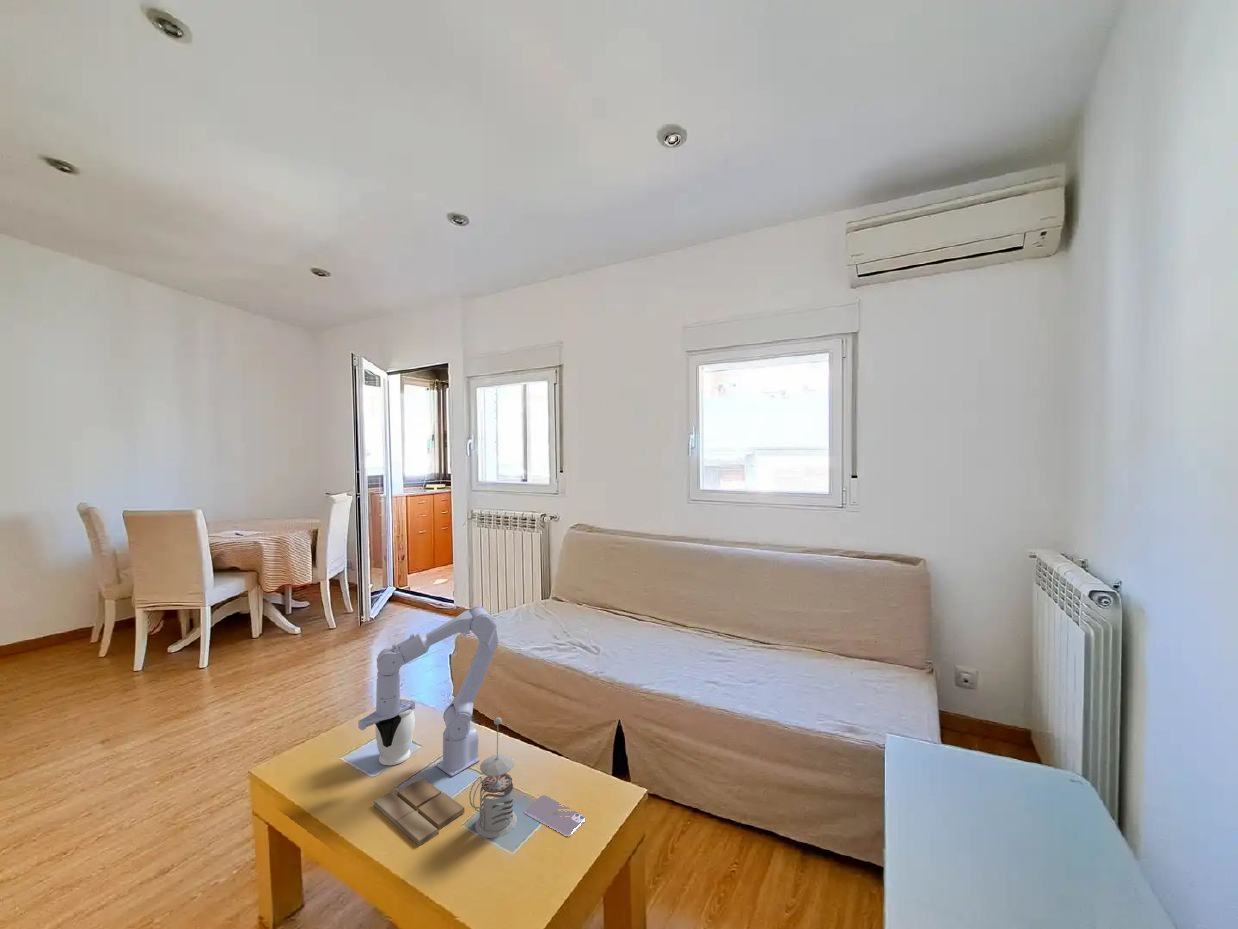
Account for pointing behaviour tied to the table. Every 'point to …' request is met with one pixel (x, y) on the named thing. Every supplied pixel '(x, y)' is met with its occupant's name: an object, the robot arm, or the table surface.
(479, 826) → the french press
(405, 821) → the laid board
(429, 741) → the table surface
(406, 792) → the plank
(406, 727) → the jar
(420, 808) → the plank
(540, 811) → the mobile phone
